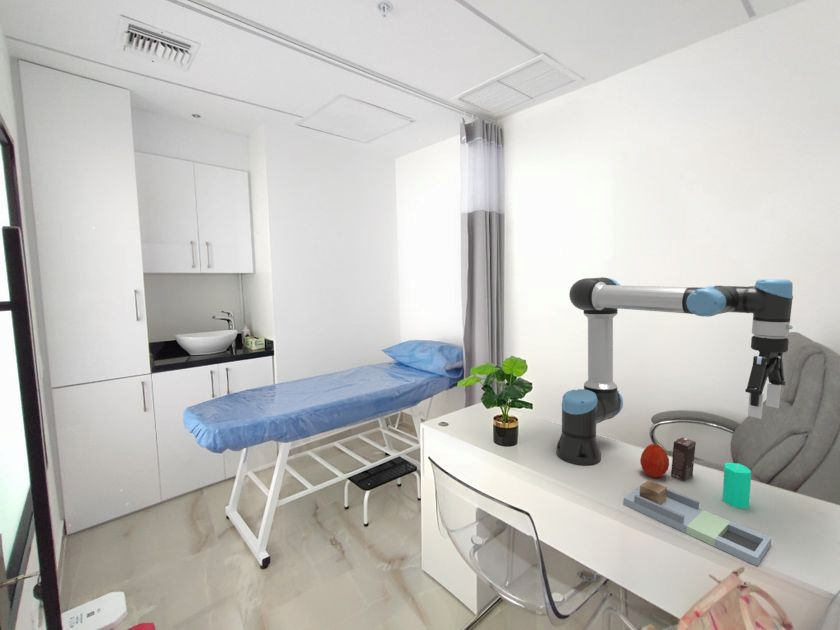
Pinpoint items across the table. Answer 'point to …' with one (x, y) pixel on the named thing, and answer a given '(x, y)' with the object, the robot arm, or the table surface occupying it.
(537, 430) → the table surface
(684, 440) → the box
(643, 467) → the apple
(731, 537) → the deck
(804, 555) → the table surface
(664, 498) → the block
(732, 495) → the candle
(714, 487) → the table surface
